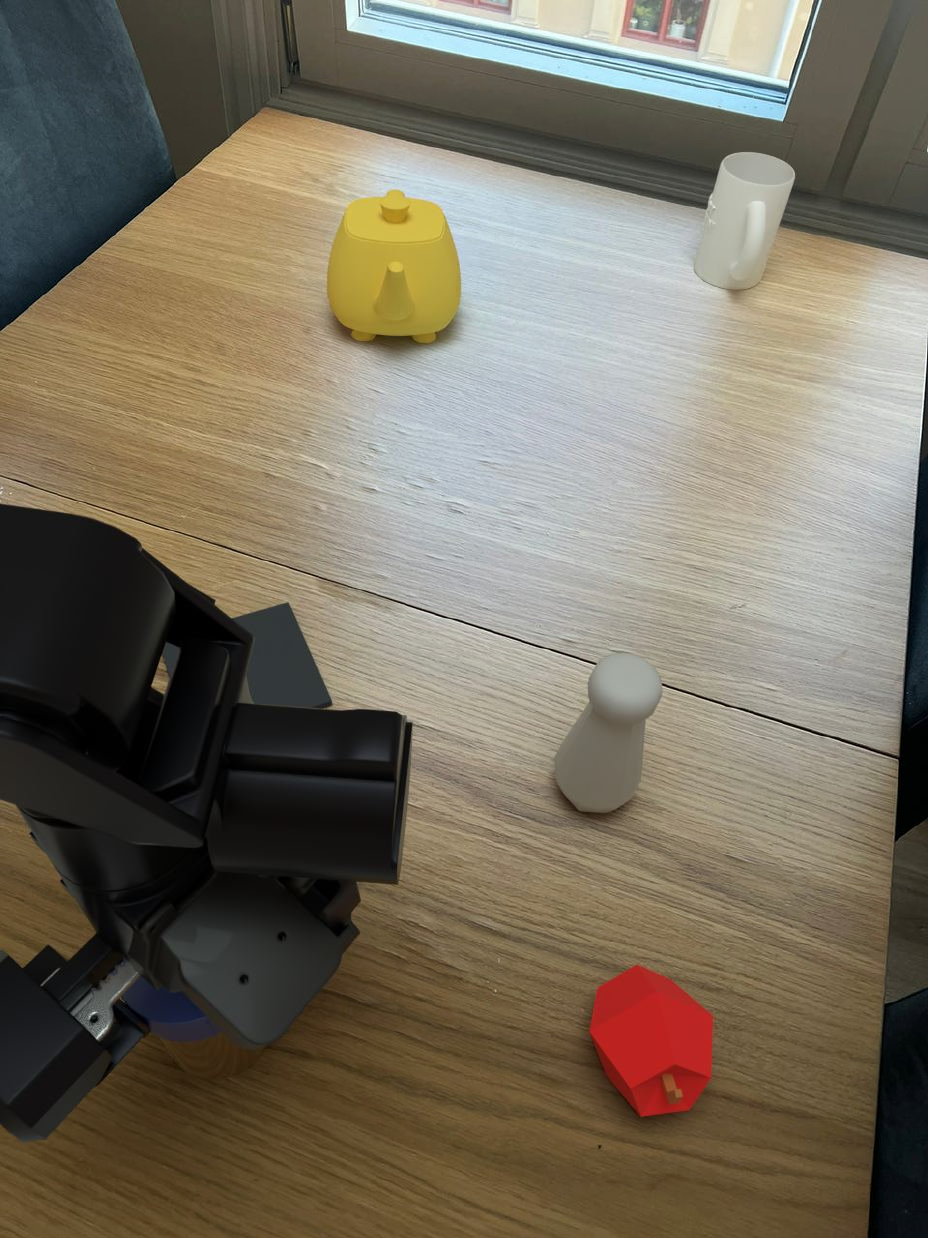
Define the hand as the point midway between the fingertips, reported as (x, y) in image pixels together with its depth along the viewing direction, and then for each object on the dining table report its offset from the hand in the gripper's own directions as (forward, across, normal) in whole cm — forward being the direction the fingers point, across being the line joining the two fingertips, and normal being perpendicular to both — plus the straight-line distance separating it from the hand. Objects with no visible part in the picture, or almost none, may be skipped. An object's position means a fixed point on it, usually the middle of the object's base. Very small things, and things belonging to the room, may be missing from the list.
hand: (196, 968), depth 46 cm
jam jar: (+9, 0, 0) cm, 9 cm away
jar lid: (-2, 0, 0) cm, 2 cm away
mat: (+8, +18, +16) cm, 26 cm away
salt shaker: (+9, +26, -9) cm, 29 cm away
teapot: (+9, +60, +36) cm, 71 cm away
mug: (+9, +93, +13) cm, 95 cm away
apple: (+9, +13, -20) cm, 25 cm away
